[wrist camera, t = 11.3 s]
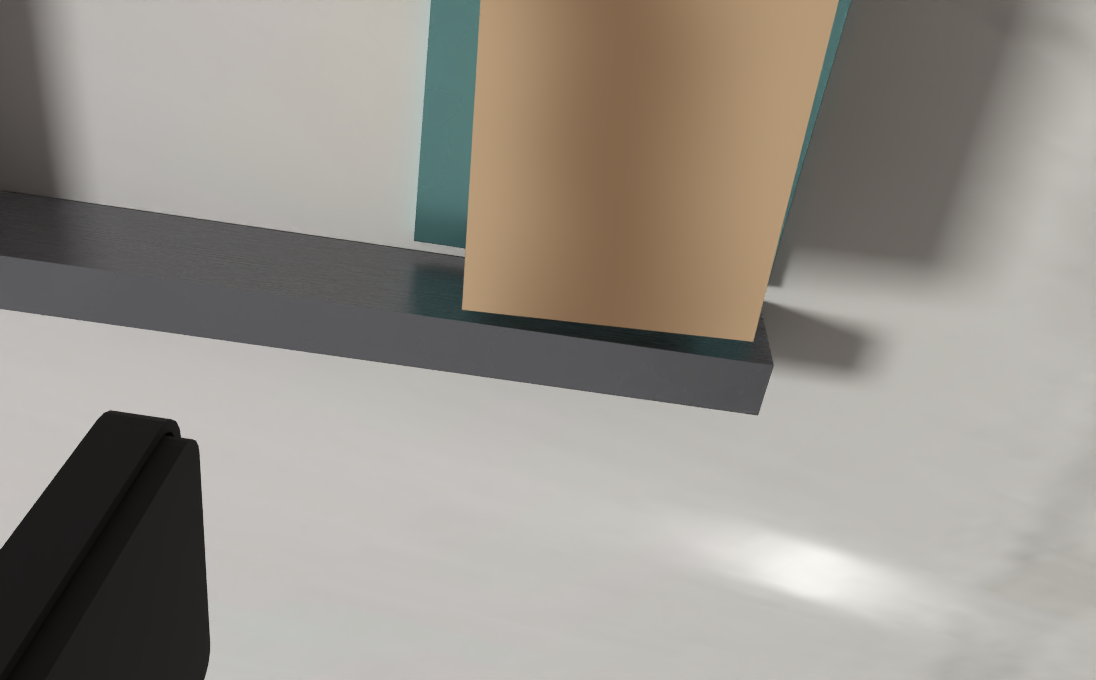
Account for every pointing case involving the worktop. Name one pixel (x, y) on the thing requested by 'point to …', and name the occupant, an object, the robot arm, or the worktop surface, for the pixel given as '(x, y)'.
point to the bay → (364, 275)
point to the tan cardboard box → (637, 157)
